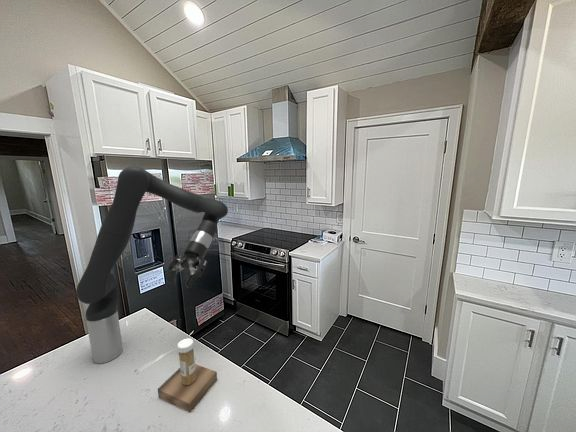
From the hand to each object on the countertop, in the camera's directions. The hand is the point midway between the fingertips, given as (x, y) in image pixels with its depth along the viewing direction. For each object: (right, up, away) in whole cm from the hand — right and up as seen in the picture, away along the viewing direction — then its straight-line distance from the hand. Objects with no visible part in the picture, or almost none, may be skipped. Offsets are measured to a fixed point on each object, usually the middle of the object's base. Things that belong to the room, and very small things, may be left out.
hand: (177, 284), depth 82 cm
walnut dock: (+7, -32, -7) cm, 33 cm away
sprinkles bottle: (+7, -29, -7) cm, 31 cm away
